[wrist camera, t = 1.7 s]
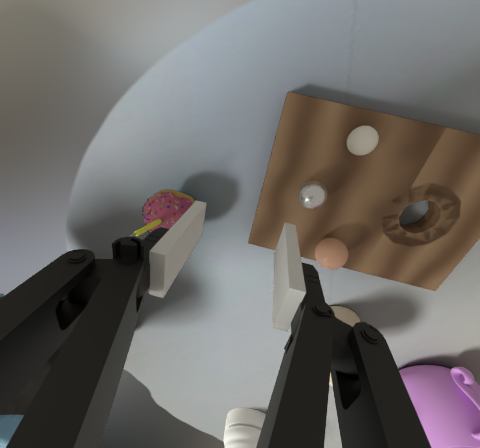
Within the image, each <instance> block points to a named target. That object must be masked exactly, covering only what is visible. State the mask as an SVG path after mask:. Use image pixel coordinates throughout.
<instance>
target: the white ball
mask: <svg viewBox="0 0 480 448" xmlns="http://www.w3.org/2000/svg"><path fill="white" fill-rule="evenodd" d="M378 140H379V136H378V133H377V131H376V130H375V129H374V128H373V127H371V126H360V127H357V128H356V129H354V130H353V131H352V132H351V133H350V134H349V136H348V138H347V147H348V150H349V151H350V152H351V153H352V154H354V155H366V154H368V153H370V152H371V151H373V150H374V149H375V147H376V146H377V144H378Z"/></svg>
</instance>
